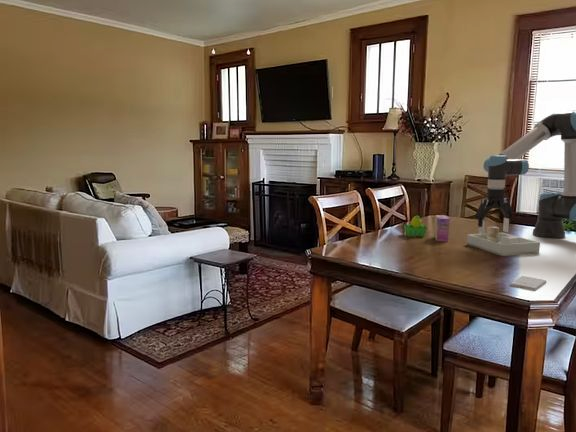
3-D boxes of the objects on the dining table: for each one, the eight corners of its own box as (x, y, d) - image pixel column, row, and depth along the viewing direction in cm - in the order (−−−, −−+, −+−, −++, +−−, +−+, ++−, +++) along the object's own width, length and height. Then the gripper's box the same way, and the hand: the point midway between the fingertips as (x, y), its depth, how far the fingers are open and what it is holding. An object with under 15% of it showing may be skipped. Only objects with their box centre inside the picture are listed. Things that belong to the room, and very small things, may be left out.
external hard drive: (546, 284, 163) (534, 292, 154) (521, 279, 168) (509, 287, 160) (546, 280, 163) (535, 287, 154) (521, 275, 168) (509, 282, 159)
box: (448, 241, 231) (449, 218, 229) (436, 241, 232) (437, 218, 231) (445, 237, 241) (446, 215, 239) (434, 237, 242) (435, 215, 241)
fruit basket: (425, 234, 250) (426, 214, 248) (427, 237, 241) (428, 216, 239) (403, 233, 252) (404, 213, 250) (404, 237, 243) (405, 215, 241)
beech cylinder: (492, 242, 225) (494, 226, 224) (500, 244, 220) (501, 228, 219) (484, 243, 224) (485, 226, 222) (491, 245, 219) (492, 228, 218)
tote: (501, 242, 230) (502, 232, 229) (539, 253, 207) (540, 242, 206) (466, 244, 225) (467, 234, 224) (501, 255, 202) (501, 244, 201)
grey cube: (509, 247, 214) (510, 235, 213) (518, 249, 209) (519, 238, 208) (499, 248, 213) (500, 236, 212) (508, 250, 208) (509, 238, 207)
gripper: (512, 186, 224) (510, 229, 228) (468, 188, 218) (466, 232, 222) (524, 188, 217) (521, 232, 221) (478, 190, 211) (476, 235, 214)
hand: (493, 232), depth 221 cm, fingers open, 13 cm apart
